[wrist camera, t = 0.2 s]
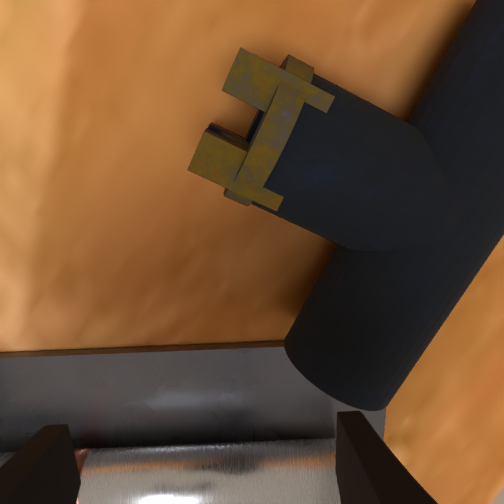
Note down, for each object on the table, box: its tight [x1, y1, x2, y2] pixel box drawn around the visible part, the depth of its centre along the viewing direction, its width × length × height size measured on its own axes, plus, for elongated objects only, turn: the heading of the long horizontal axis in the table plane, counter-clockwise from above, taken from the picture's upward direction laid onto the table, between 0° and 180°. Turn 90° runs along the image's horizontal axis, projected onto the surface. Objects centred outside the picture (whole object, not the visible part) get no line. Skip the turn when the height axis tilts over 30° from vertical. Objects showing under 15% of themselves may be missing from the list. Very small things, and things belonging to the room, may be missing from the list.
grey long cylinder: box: [0, 438, 341, 504], centre depth 23 cm, size 18×4×4 cm, turn 92°
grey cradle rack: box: [0, 341, 386, 453], centre depth 23 cm, size 13×33×6 cm, turn 92°
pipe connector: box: [188, 0, 504, 411], centre depth 17 cm, size 12×5×15 cm
